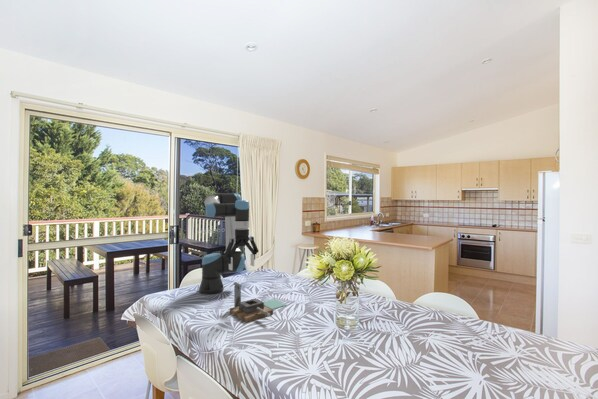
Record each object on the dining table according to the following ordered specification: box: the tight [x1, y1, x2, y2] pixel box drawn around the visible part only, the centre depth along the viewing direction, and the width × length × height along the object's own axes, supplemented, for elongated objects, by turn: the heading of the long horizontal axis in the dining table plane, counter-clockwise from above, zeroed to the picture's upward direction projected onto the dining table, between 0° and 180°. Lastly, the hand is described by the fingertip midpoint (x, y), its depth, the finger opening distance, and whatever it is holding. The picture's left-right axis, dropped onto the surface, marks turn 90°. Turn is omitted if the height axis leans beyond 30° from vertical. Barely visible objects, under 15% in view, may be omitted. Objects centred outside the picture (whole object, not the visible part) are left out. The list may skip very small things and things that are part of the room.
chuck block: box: [229, 297, 274, 323], centre depth 151 cm, size 24×16×6 cm, turn 40°
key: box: [233, 281, 242, 308], centre depth 161 cm, size 6×3×13 cm, turn 40°
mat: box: [263, 298, 287, 311], centre depth 166 cm, size 12×10×1 cm
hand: (241, 267), depth 161 cm, fingers open, 13 cm apart
